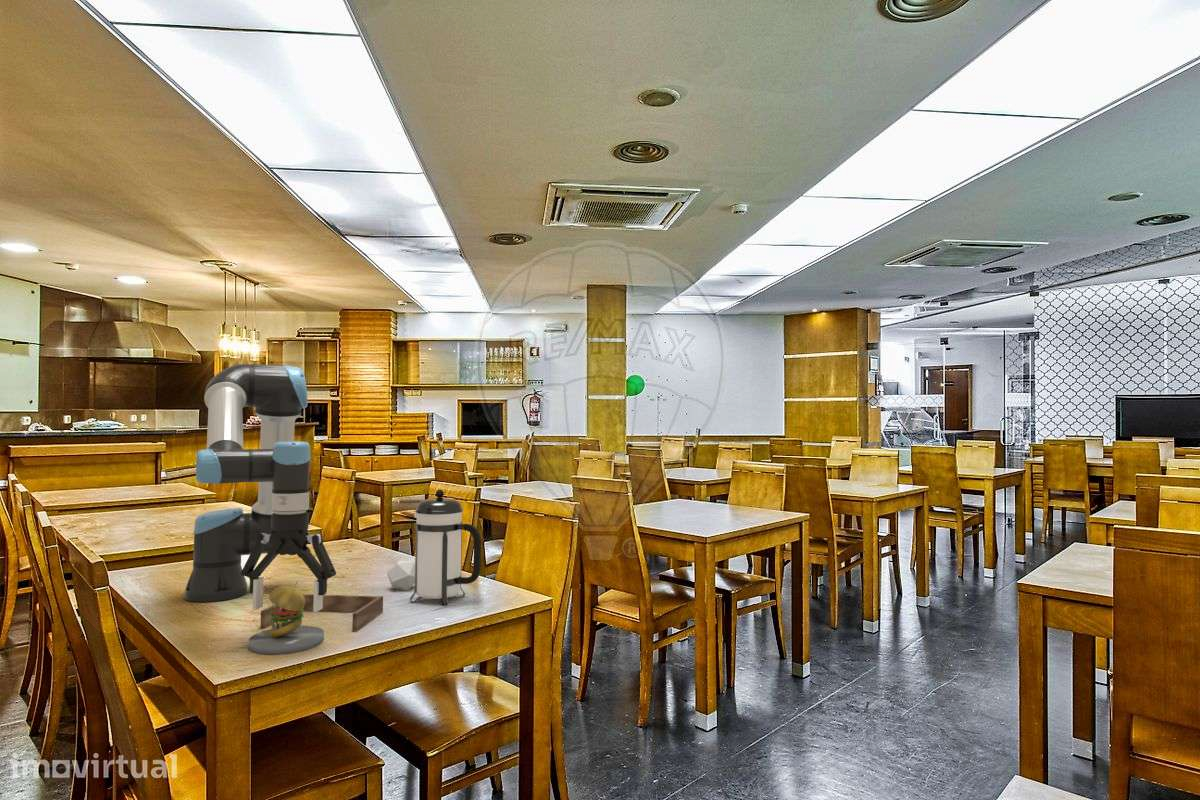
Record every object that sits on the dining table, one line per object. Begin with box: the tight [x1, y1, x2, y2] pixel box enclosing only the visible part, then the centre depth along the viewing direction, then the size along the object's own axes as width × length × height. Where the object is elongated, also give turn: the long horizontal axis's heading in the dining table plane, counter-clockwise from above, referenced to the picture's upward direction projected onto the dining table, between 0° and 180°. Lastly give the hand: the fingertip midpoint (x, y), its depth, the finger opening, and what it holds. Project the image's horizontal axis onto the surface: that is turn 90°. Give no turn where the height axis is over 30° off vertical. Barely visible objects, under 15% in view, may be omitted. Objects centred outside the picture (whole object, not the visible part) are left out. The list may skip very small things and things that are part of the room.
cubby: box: [259, 593, 384, 632], centre depth 166 cm, size 23×16×4 cm
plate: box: [247, 625, 325, 655], centre depth 149 cm, size 15×15×2 cm
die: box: [386, 560, 415, 591], centre depth 198 cm, size 8×9×10 cm
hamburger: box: [268, 579, 305, 637], centre depth 149 cm, size 8×7×12 cm
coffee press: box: [409, 489, 482, 607], centre depth 187 cm, size 17×16×30 cm
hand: (287, 609), depth 149 cm, fingers open, 13 cm apart
